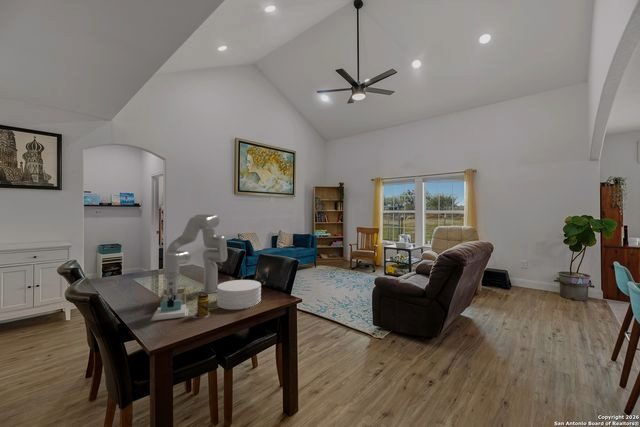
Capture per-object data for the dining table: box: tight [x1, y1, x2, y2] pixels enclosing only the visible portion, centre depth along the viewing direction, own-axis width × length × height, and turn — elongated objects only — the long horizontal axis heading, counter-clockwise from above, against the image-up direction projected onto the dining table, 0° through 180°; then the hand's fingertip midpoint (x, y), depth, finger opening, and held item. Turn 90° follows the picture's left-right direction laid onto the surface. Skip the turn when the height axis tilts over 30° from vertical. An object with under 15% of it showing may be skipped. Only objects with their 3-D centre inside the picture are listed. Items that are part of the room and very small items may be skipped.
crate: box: [159, 287, 187, 307], centre depth 171 cm, size 13×13×9 cm
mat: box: [150, 307, 190, 322], centre depth 157 cm, size 18×13×1 cm
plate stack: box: [216, 279, 262, 310], centre depth 181 cm, size 28×28×12 cm
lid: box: [153, 299, 187, 321], centre depth 157 cm, size 15×15×7 cm
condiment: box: [191, 293, 211, 319], centre depth 157 cm, size 7×8×12 cm
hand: (171, 304), depth 157 cm, fingers open, 9 cm apart
